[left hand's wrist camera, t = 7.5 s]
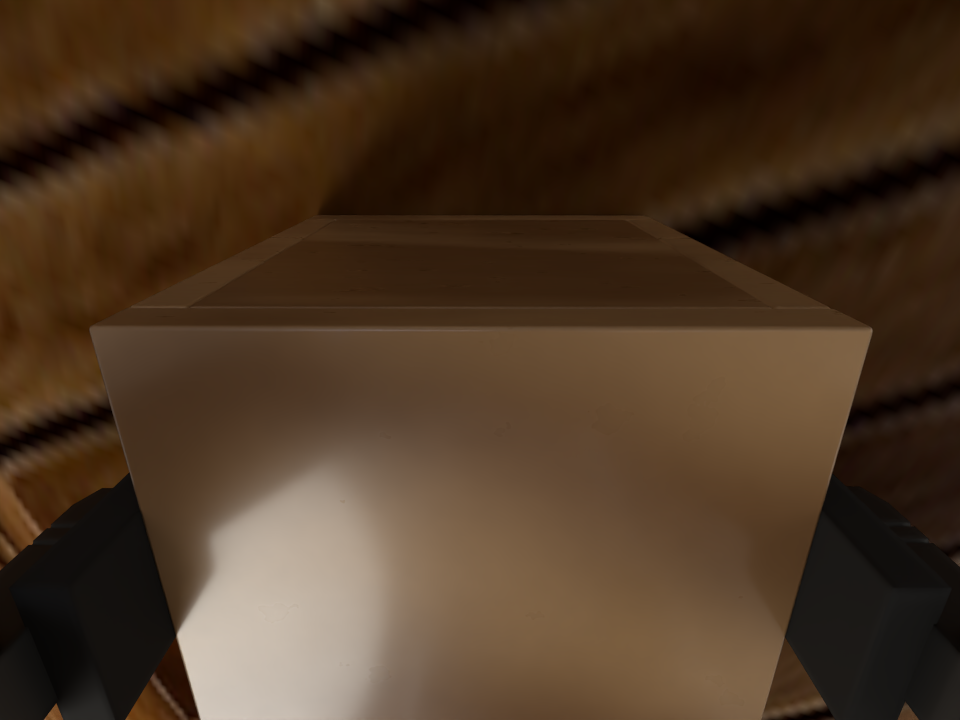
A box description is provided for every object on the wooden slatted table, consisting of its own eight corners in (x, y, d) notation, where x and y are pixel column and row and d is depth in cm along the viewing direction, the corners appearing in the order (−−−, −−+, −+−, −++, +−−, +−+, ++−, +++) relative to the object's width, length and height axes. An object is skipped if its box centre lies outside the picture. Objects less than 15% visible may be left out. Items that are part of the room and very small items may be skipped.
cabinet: (602, 611, 24) (692, 965, 14) (358, 611, 24) (267, 963, 14) (647, 215, 18) (876, 327, 7) (314, 214, 18) (84, 326, 7)
